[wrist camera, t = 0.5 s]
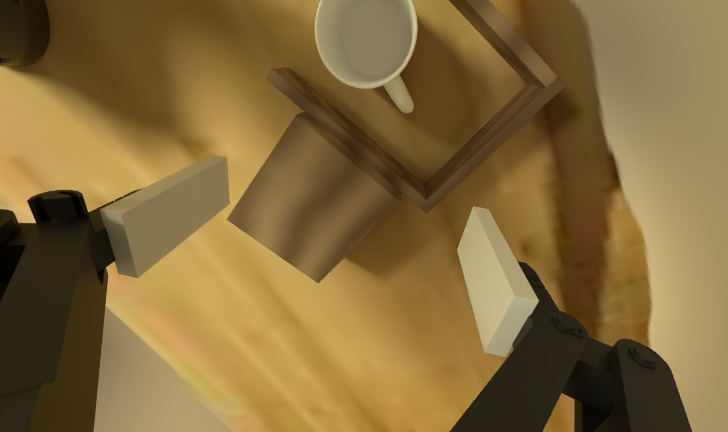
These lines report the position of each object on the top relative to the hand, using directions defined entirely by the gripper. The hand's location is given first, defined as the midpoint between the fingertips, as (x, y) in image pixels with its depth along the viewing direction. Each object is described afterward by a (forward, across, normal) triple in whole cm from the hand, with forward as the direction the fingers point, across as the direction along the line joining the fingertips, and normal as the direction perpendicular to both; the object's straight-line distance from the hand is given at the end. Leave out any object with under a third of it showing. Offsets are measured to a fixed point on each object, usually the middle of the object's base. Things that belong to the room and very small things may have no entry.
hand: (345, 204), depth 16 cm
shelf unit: (+24, -2, -2) cm, 24 cm away
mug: (+24, -1, +7) cm, 25 cm away
